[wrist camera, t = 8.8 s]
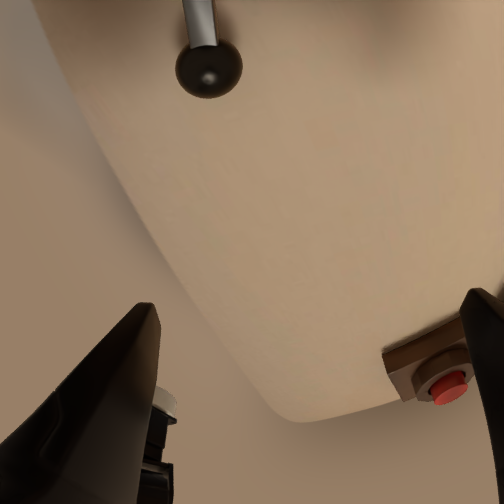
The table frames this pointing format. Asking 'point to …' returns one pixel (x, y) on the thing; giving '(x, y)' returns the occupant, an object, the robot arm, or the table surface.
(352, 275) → the table surface
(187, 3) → the lever
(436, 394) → the button
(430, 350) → the button block
